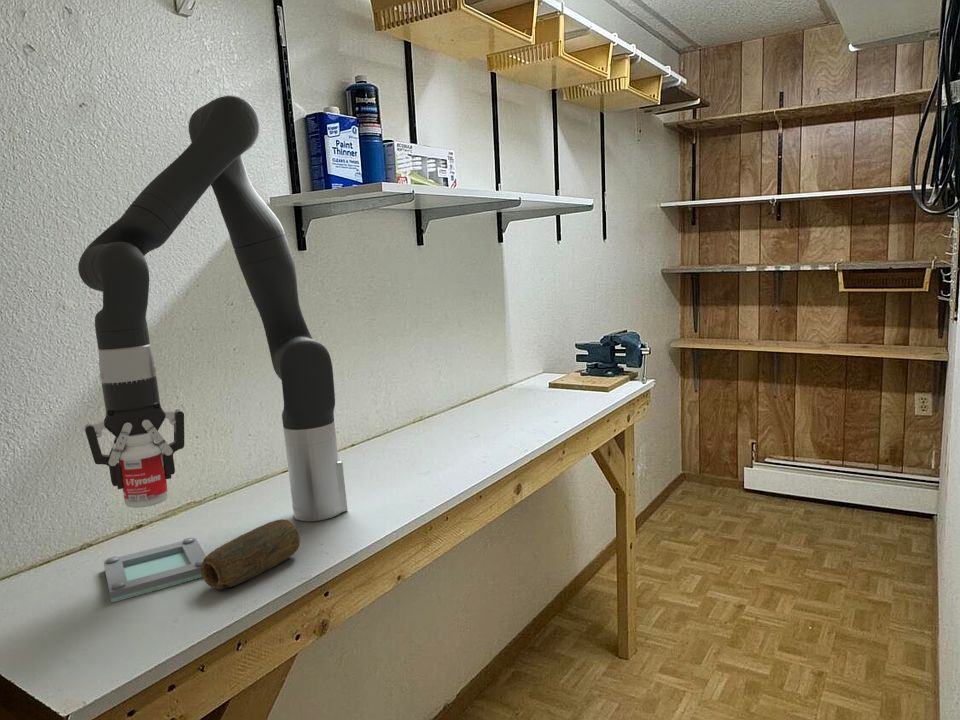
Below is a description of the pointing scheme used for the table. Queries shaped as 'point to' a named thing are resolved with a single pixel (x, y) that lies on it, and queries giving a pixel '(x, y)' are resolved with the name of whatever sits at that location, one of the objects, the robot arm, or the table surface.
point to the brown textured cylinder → (250, 554)
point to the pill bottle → (142, 472)
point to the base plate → (153, 569)
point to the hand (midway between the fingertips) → (144, 482)
